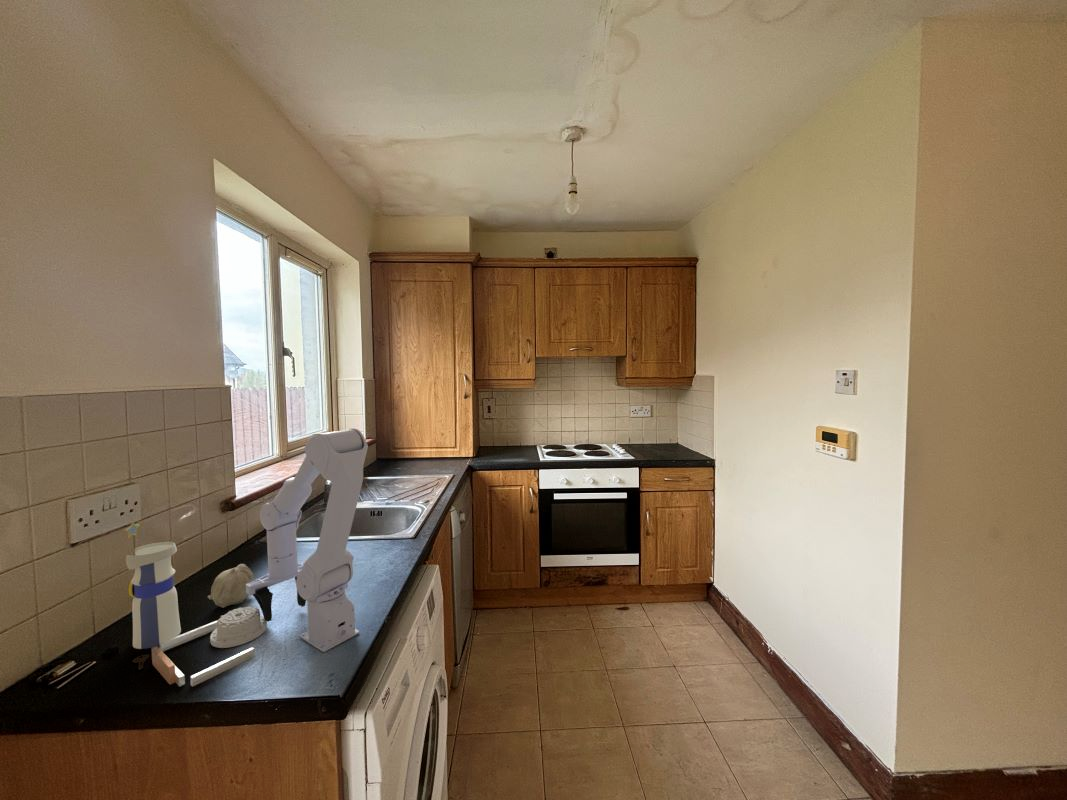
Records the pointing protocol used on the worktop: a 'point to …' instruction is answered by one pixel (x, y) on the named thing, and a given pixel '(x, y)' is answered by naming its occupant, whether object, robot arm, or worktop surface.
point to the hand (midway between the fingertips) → (285, 612)
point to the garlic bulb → (231, 586)
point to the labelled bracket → (176, 675)
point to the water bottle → (153, 593)
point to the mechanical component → (238, 627)
